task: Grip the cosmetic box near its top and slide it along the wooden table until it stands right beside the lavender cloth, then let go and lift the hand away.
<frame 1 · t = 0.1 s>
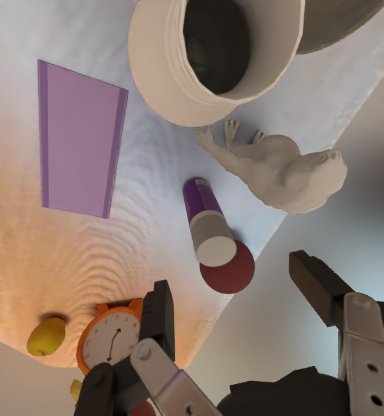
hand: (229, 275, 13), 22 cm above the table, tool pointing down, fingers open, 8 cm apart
figurine: (242, 137, 32), on the table
alarm clock: (122, 307, 49), on the table
container: (196, 189, 35), on the table
decorative ball: (219, 245, 43), on the table
apple: (55, 318, 48), on the table
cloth: (80, 154, 30), on the table
water bottle: (175, 70, 26), on the table
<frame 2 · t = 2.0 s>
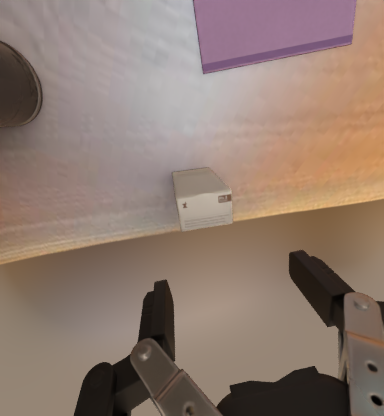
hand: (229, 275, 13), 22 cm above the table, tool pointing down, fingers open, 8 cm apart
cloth: (276, 10, 25), on the table
cosmetic box: (192, 180, 33), on the table
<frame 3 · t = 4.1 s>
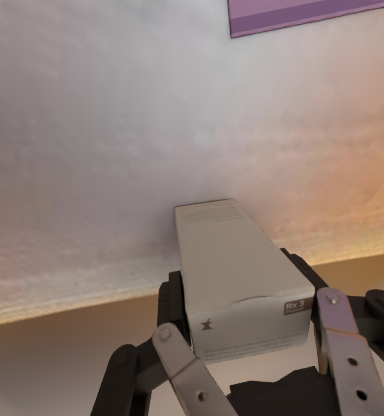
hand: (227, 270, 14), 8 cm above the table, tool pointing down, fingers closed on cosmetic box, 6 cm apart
cosmetic box: (206, 218, 21), on the table, touching gripper
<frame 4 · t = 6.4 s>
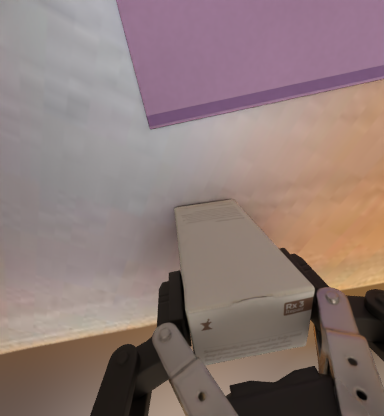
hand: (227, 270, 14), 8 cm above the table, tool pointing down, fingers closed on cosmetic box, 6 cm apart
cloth: (265, 28, 15), on the table
cosmetic box: (206, 218, 21), on the table, touching gripper
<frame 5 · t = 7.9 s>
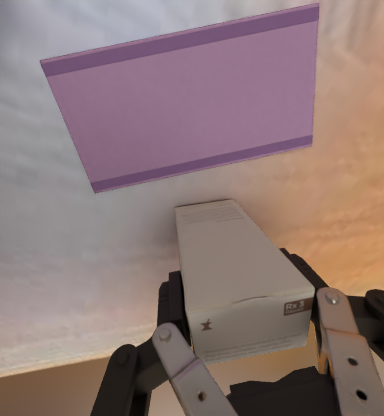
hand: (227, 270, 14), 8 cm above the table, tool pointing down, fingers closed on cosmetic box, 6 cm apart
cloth: (193, 109, 17), on the table
cosmetic box: (206, 218, 21), on the table, touching gripper
when the fingers open (8 cm above the table, at t = 9.0 s): cosmetic box stays where it is, on the table.
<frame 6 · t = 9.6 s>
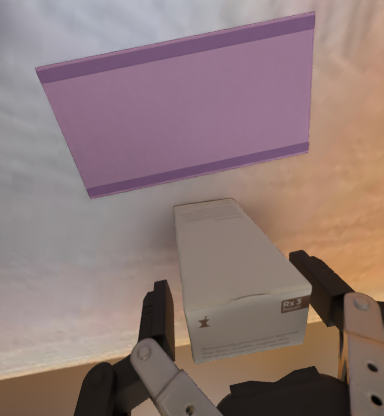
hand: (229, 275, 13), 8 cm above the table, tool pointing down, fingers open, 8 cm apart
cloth: (189, 116, 17), on the table
cosmetic box: (205, 217, 21), on the table
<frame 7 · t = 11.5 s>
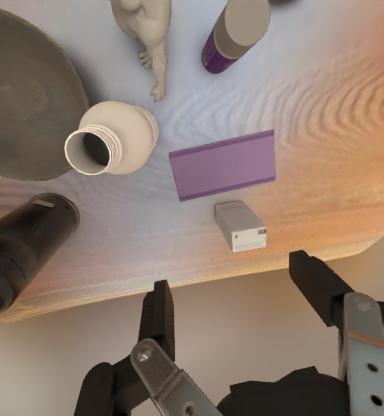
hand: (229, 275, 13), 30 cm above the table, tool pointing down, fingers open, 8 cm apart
figurine: (147, 39, 32), on the table
container: (215, 57, 33), on the table
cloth: (224, 167, 41), on the table
water bottle: (139, 129, 37), on the table
bowl: (51, 108, 34), on the table
cosmetic box: (229, 209, 45), on the table
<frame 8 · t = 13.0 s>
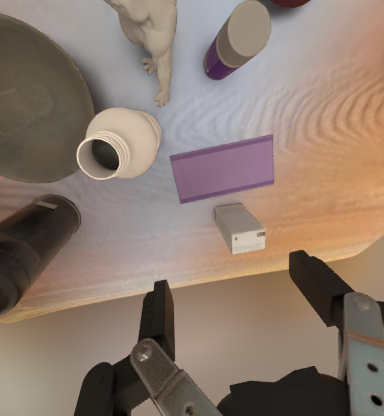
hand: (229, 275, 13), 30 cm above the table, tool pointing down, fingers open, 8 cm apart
figurine: (151, 46, 32), on the table
container: (217, 64, 34), on the table
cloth: (224, 170, 42), on the table
water bottle: (141, 132, 37), on the table
bowl: (55, 111, 35), on the table
cosmetic box: (228, 212, 46), on the table
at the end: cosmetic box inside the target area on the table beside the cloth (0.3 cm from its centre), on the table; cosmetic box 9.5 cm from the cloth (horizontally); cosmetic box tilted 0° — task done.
